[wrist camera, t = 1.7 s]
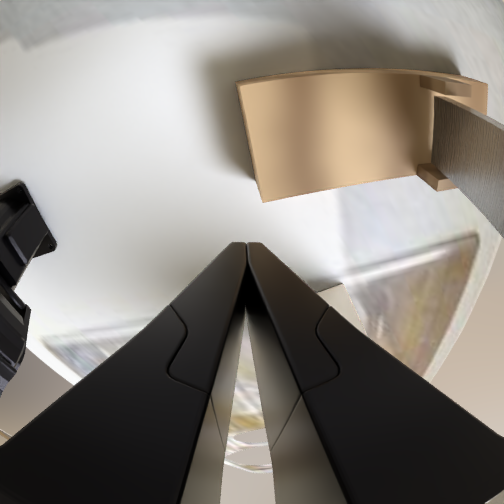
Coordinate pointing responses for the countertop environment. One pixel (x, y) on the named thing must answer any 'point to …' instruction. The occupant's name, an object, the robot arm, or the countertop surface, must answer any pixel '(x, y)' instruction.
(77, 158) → the countertop surface
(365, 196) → the countertop surface
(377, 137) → the body
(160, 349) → the robot arm
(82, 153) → the countertop surface
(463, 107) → the lever cap
